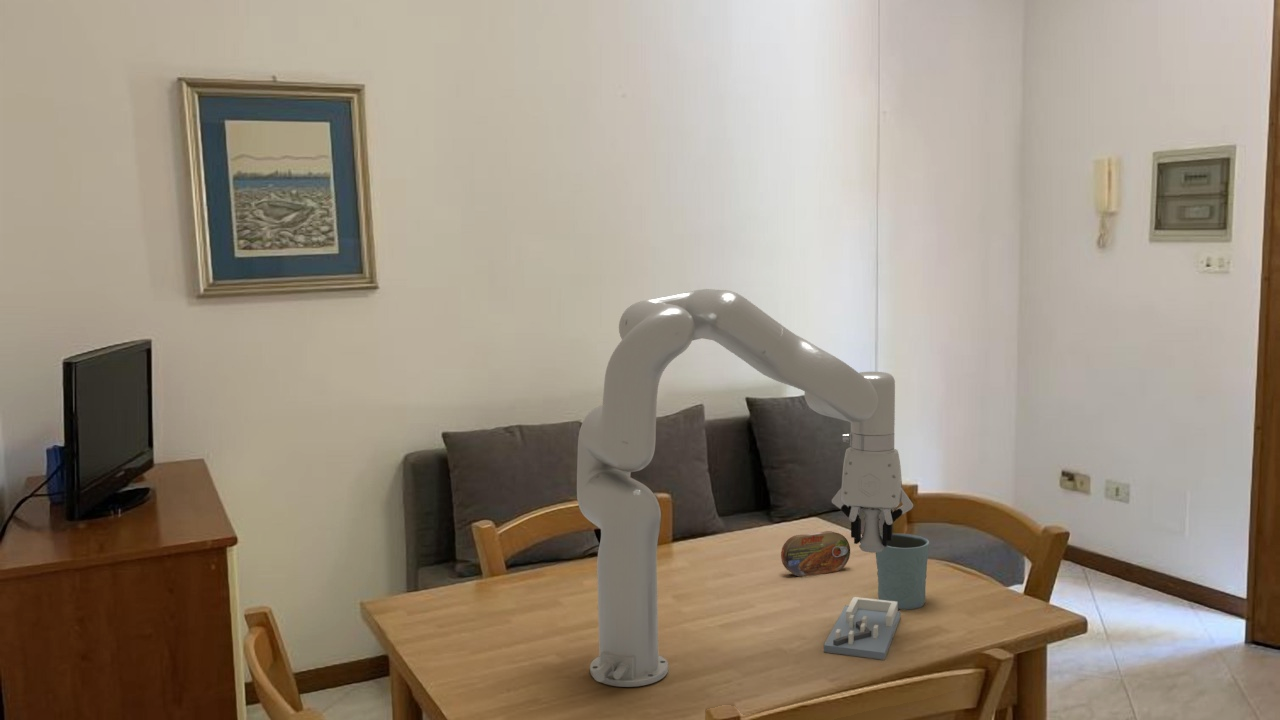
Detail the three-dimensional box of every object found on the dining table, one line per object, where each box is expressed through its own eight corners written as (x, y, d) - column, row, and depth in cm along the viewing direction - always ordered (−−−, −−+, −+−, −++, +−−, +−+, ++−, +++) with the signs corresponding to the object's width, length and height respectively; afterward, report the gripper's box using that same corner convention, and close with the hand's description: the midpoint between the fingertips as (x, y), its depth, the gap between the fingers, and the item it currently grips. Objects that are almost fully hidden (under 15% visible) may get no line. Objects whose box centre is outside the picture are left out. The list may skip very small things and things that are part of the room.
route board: (884, 659, 169) (884, 642, 169) (823, 652, 173) (823, 634, 172) (900, 617, 188) (900, 601, 187) (845, 611, 191) (845, 596, 191)
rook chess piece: (865, 544, 187) (866, 501, 186) (888, 548, 184) (889, 504, 183) (854, 550, 183) (854, 506, 182) (877, 554, 180) (877, 510, 179)
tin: (785, 578, 211) (785, 538, 210) (779, 574, 214) (778, 534, 213) (851, 570, 215) (851, 531, 214) (843, 566, 218) (843, 527, 217)
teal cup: (890, 613, 190) (891, 550, 189) (864, 595, 200) (864, 535, 199) (939, 607, 193) (940, 544, 192) (911, 589, 203) (911, 530, 201)
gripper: (820, 443, 181) (820, 544, 183) (919, 449, 175) (917, 553, 177) (828, 435, 188) (828, 533, 190) (924, 440, 182) (922, 541, 184)
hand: (871, 542), depth 183 cm, fingers closed on rook chess piece, 4 cm apart
